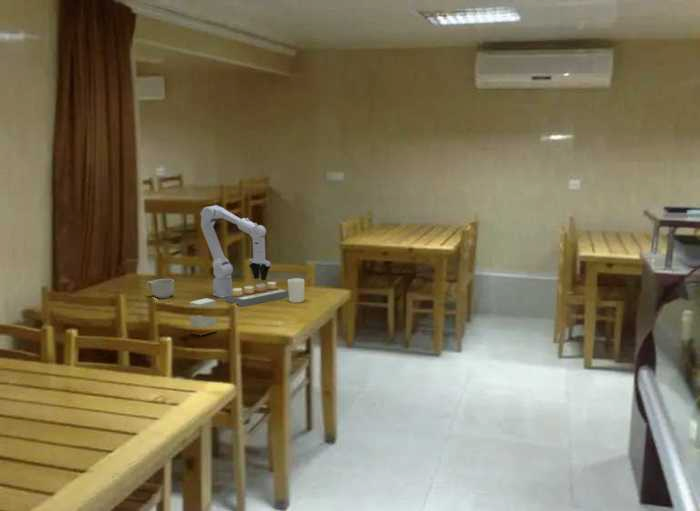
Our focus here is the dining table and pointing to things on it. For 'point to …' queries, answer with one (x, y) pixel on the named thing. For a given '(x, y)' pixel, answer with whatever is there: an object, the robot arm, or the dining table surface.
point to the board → (257, 297)
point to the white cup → (296, 290)
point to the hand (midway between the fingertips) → (260, 279)
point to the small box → (200, 320)
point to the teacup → (161, 287)
